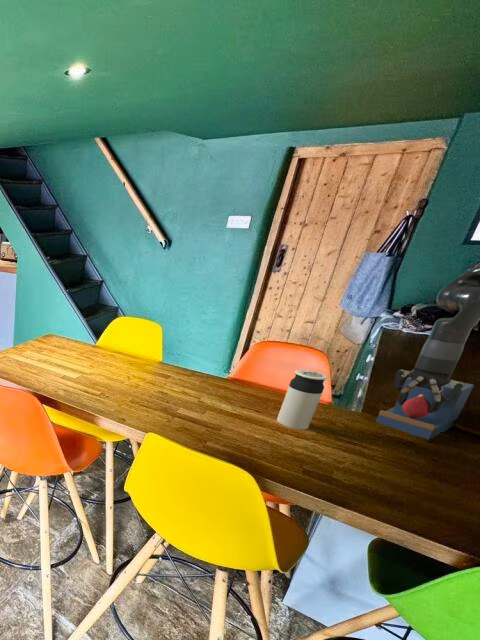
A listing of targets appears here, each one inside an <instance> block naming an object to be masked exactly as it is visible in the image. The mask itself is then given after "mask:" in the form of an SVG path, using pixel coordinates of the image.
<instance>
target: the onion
mask: <svg viewBox="0 0 480 640" xmlns="http://www.w3.org/2000/svg"><path fill="white" fill-rule="evenodd" d="M430 407H431V405H430V403H429V401H428V400H427V399H426V398H425V397H424V396H423V395H422V394H419V396H418V397H413V398H410V399H408V400H406V401H405V402H404V403H403V405H402V409H403V411H404V412H405V414H406V415H407V416H408V418H411V419H413V418H420V417H424V416H426V415H427V414H428V413H429V412H428V411H429V409H430Z"/></svg>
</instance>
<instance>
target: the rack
mask: <svg viewBox="0 0 480 640" xmlns="http://www.w3.org/2000/svg"><path fill="white" fill-rule="evenodd" d="M456 381H457V382H460V381H459V380H456ZM411 382H412V379H411V377H410V376H407V377H406V379H405V381H404V382H403V386H404V387H406V386H407V385H408V384H410V383H411ZM464 383H465V386H464V387H463V388H462V389H461V391H460V392H459V393H458V395H457V396H456V397H455V398H454V400H452V401H450V402H442V403H441V405H440V407H439V409H438V410H437V411H436V412H433V413H430V412H429V413H428V414H427V415H426V416H424V417H420V418H413V419H411V418H408V416H407V415H406V414H405V412H404V411H403V409H402V405H400V404H399V402H398V401H397V400H396V402H395V405H394V406H393V407H391V408H389V409H387V410H383V409H380V410H379V412H378V415H377V416H376V419H375V422H378V423H381V424H383V425H387V426H390V427H393V428H396V429H398V430H401V431H403V432H407V433H409V434H411V435H415V436H419V437H423V438H426V439H430V438H431V437H433V436H434V435H436V434H437V433H440V432H443V433H444V432H446V431H448V430H450V429H451V428H453V427H454V426H455V424H456V422H454V421H456V420H458V418H459V416H460V415H461V413H462V410H463V408H464V406H465V404H466V402H467V400H468V399H469V397H470V394H471V393H472V390H473V388H474V386H475V384H473V383H467V382H464ZM450 386H451V384H449V383H448V384H446V385H444V386H442V388H443V396H444V397H447V396H448V394H449V393H450V392H451V390H452V388H450ZM408 393H409V395H408V397H407V399H406V400H408V399H410V398H413V397H418V396H419V394H422V395H423V396H424V397H425V398H426V399H427V400H428V401H429V403H430V405H432V403H433V401H434V400H435V398H434V394H433V393H432V390H429V389H426V388H424V387H417V386H415V387H414V388H412V389H411V390H410V391H409V392H408ZM399 396H400V394H399ZM399 396H398V398H399ZM398 398H397V399H398Z"/></svg>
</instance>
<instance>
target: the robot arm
mask: <svg viewBox="0 0 480 640" xmlns="http://www.w3.org/2000/svg"><path fill="white" fill-rule="evenodd" d="M436 304H437V305H438V306H439V307H441V308H443V309H448V310H454V311H458V313H457V314H456V315H454V316H453V317H442V318H441V317H440V318H438V319H437V320H436V321H435V322H434V324H433V326H432V328H431V330H430V332H429V335H428V337H427V339H426V341H425V342H424V344H423V346H422V348H421V349H420V353H419V355H418V357H417V359H416V362H415V365H414V367H413V369H411V370H405V369H404V368H402V369H399V370H396V372H395V377H394V383H393V389H394V390H397V391H399V392H400V393H399V395H400V396H398V397H399V398H397V400H396V402H397V401H398V402H399V404H400V405H403V403H404V402H405V401H406V399H407V397H408V395H409V393H408V392H409V391H410V390H411V389H412V388H414V387H415V386H417V387H424V388H426V389H429V390H432V393H433V394H434V398H435V400H434V401H433V403H432V405H431V407H430V409H429V411H428V412H430V413H433V412H436V411H437V410H438V409H439V407H440V405H441V403H442V402H450V401H452V400H454V398H455V397H456V396H457V395H458V393H459V392H460V391H461V389H462V388H463V387H464V386H465V383H466V382H463V381H459V382H457V381H458V380H453V377H452V375H453V372H454V371H455V369H456V367H457V364H458V362H459V360H460V358H461V356H462V353H463V351H464V348H465V344H466V342H467V340H468V338H469V336H470V334H471V331H472V329H473V328H474V327H475V326H476V325H477V324H478V322H479V321H480V262H478V264H477V265H476V266H474V267H472V268H471V269H469V270H467V271H466V272H464V273H462V274H461V275H459V276H458V277H456V278H455V279H453V280H451V281H450V282H448V283H447V284H446V285H444V287H442V288H441V289H440V291H439V292H438V293H437V296H436ZM408 376H409V377H411V379H412V382H411V383H410V384H408V385H407V386H406V387H404V379H405V378H407V377H408ZM448 383H449V384H451V386H450V388H452V390H451V392H450V393H449V394H448V396H447V397H444V396H443V388H442V386H444V385H446V384H448Z"/></svg>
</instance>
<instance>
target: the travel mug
mask: <svg viewBox="0 0 480 640" xmlns="http://www.w3.org/2000/svg"><path fill="white" fill-rule="evenodd" d="M294 373H295V376H294V377H293V378H292V379H291V380H290V382H289V385H288V387H287V390H286V392H285V395H284V398H283V401H282V404H281V407H280V410H279V412H278V416H277V418H276V422H278V423H279V424H281V425H282V426H284V427H288V428H291V429H295V430H307V429H309V427H310V424H311V422H312V419H313V416H314V415H315V411H316V410H317V407H318V404H319V401H320V399H321V397H322V395H323V392H324V389H325V385H324V382H325V380H327V379H328V376H327V375H325V374H323V373H321V372H317V371H314V370H308V369H297V370H295V371H294Z"/></svg>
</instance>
